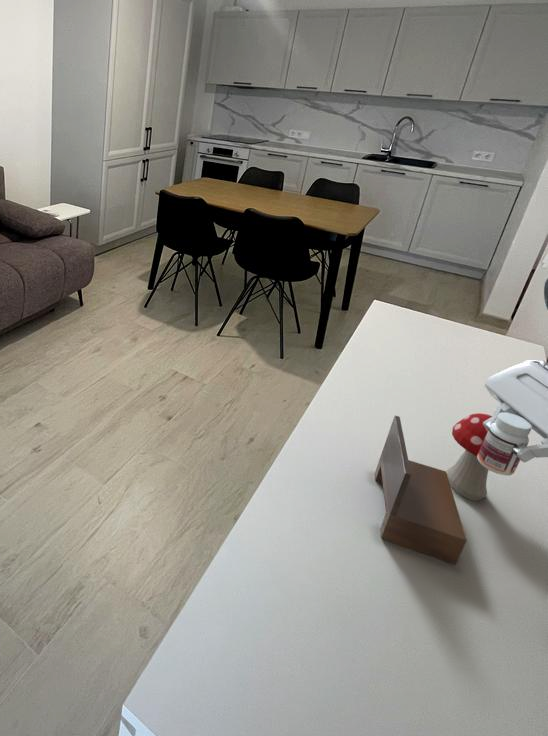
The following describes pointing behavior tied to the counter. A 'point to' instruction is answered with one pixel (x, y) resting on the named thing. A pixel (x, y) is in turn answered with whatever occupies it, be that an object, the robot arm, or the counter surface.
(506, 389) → the robot arm
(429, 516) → the wooden display stand
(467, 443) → the decorative mushroom
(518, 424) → the pill bottle
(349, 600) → the counter surface
